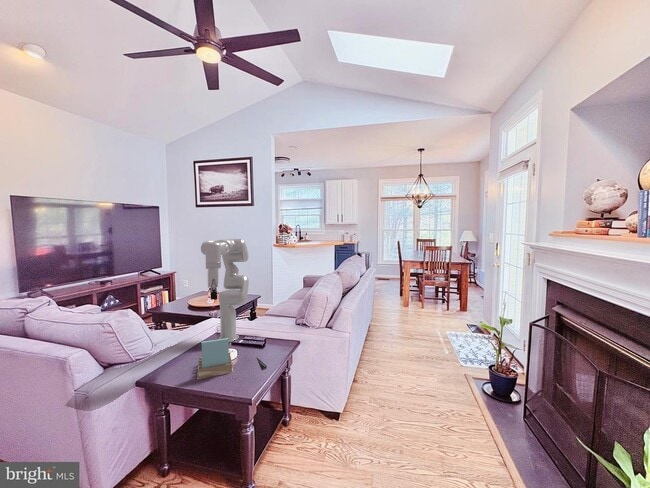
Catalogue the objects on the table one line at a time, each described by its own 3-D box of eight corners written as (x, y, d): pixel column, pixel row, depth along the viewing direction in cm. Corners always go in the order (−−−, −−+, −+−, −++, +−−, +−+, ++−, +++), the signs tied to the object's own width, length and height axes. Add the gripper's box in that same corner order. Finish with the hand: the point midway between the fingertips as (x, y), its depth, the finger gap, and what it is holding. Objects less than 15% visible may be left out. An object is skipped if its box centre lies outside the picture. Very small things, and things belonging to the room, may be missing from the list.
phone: (255, 356, 153) (267, 366, 141) (255, 358, 153) (267, 368, 141) (241, 360, 148) (252, 371, 136) (241, 362, 148) (252, 373, 136)
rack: (198, 367, 142) (197, 357, 142) (230, 361, 148) (230, 351, 148) (197, 381, 128) (196, 370, 128) (233, 374, 134) (233, 364, 134)
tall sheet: (202, 374, 132) (201, 341, 132) (228, 369, 137) (228, 337, 136) (202, 376, 131) (201, 342, 130) (228, 371, 136) (228, 339, 135)
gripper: (205, 264, 154) (206, 294, 155) (205, 267, 139) (206, 301, 139) (220, 263, 157) (220, 293, 158) (221, 267, 141) (222, 300, 142)
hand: (213, 297), depth 149 cm, fingers open, 9 cm apart
